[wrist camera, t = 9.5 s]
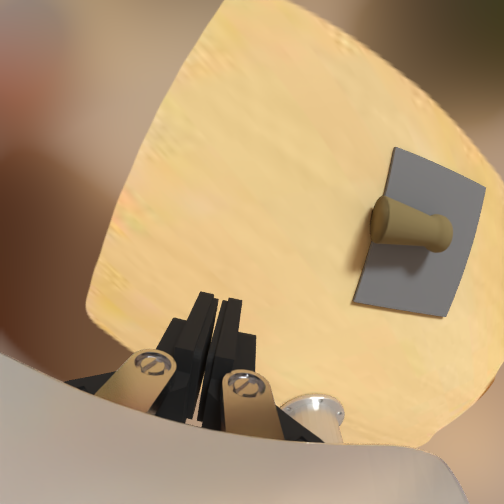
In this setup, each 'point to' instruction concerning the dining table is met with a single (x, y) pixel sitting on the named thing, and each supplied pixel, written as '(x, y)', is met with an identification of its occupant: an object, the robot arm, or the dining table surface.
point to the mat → (418, 257)
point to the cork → (409, 226)
